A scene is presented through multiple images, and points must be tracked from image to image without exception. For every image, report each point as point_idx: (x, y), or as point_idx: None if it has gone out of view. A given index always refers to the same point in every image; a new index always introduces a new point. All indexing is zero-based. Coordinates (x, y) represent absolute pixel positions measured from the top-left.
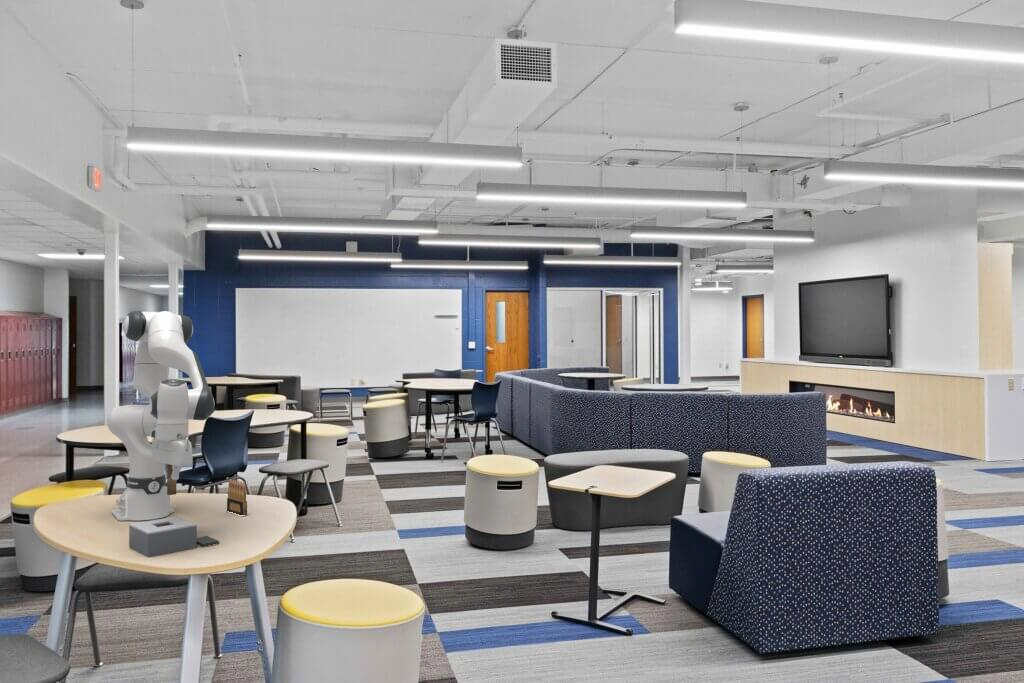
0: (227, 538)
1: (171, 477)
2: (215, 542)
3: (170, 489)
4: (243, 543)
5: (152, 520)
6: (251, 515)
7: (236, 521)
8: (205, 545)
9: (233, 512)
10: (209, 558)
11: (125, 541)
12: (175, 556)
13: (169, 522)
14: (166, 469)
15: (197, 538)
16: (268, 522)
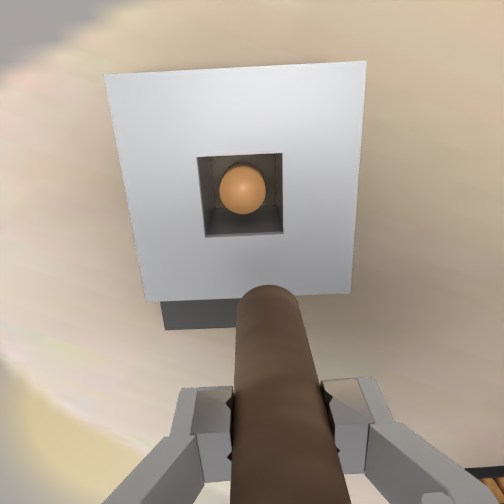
0: (217, 362)
1: (213, 399)
2: (164, 318)
3: (242, 320)
4: (131, 372)
5: (352, 184)
6: None
7: None
8: None
9: (482, 472)
10: (11, 243)
11: (441, 94)
12: (96, 168)
13: (266, 233)
14: (401, 466)
15: None
16: None
